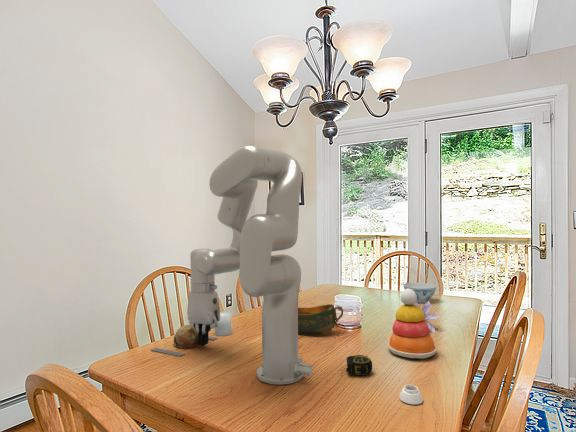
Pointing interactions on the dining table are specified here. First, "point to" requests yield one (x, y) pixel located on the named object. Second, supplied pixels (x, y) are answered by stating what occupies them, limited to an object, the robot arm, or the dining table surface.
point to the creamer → (317, 320)
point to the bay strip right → (211, 338)
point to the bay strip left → (168, 352)
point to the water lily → (428, 315)
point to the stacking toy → (411, 330)
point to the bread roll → (186, 337)
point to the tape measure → (359, 365)
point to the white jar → (411, 395)
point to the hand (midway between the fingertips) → (203, 344)
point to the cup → (224, 324)
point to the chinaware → (421, 290)
